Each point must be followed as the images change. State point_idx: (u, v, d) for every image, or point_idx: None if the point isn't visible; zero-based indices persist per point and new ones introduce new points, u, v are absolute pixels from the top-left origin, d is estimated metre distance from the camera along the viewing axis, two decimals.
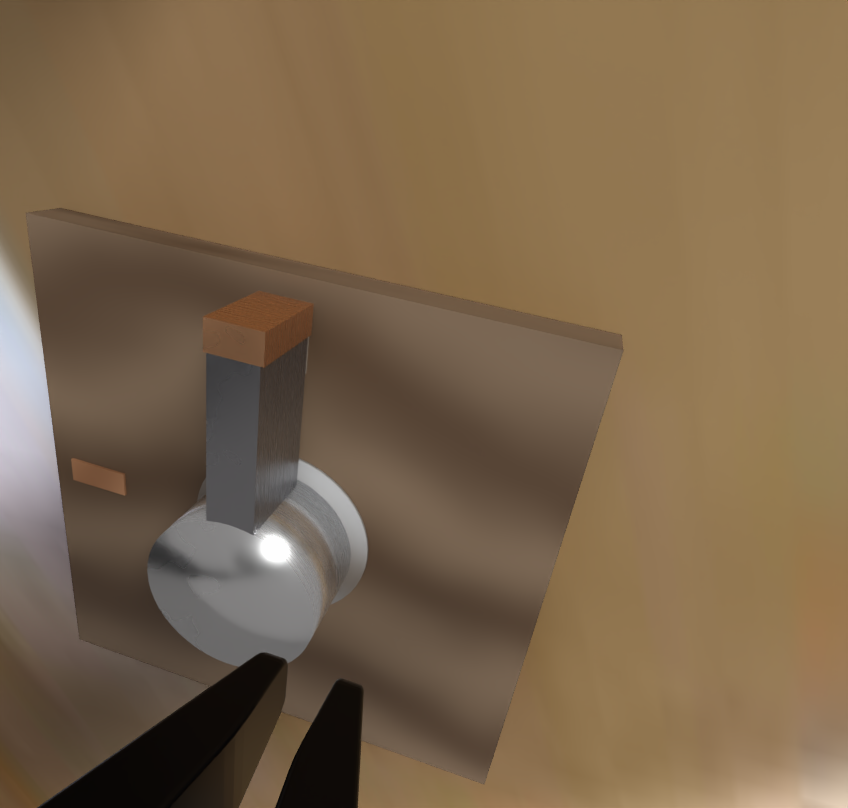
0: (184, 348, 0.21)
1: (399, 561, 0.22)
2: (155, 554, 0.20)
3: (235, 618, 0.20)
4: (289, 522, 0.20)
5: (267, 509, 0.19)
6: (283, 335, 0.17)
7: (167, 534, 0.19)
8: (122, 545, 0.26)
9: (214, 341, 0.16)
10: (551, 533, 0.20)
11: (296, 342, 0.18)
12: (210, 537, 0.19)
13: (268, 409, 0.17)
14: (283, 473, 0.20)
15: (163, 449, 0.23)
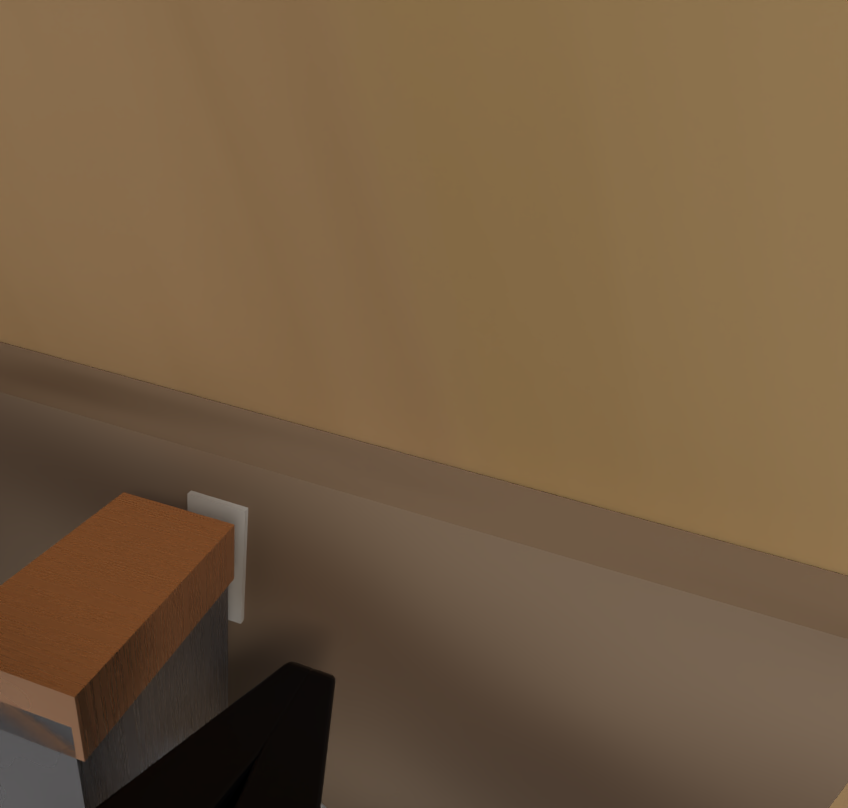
0: (22, 555, 0.11)
1: None
2: None
3: None
4: None
5: None
6: (147, 646, 0.07)
7: None
8: None
9: None
10: None
11: (193, 621, 0.08)
12: None
13: None
14: None
15: None
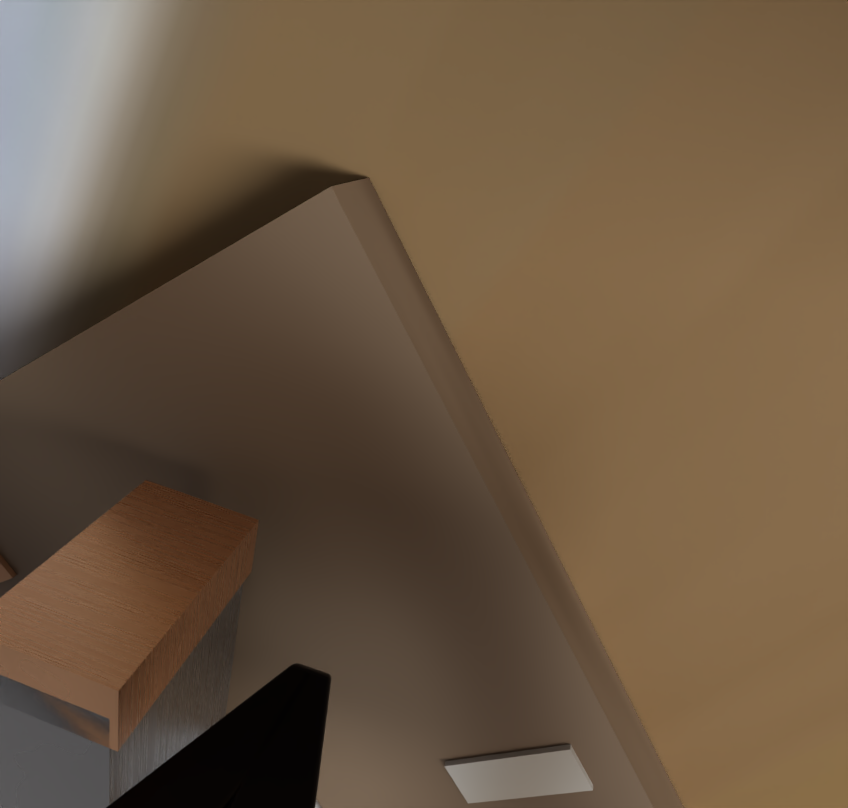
0: (338, 616, 0.10)
1: None
2: None
3: None
4: None
5: None
6: (178, 639, 0.07)
7: None
8: None
9: None
10: None
11: (215, 613, 0.08)
12: None
13: (139, 780, 0.08)
14: None
15: None
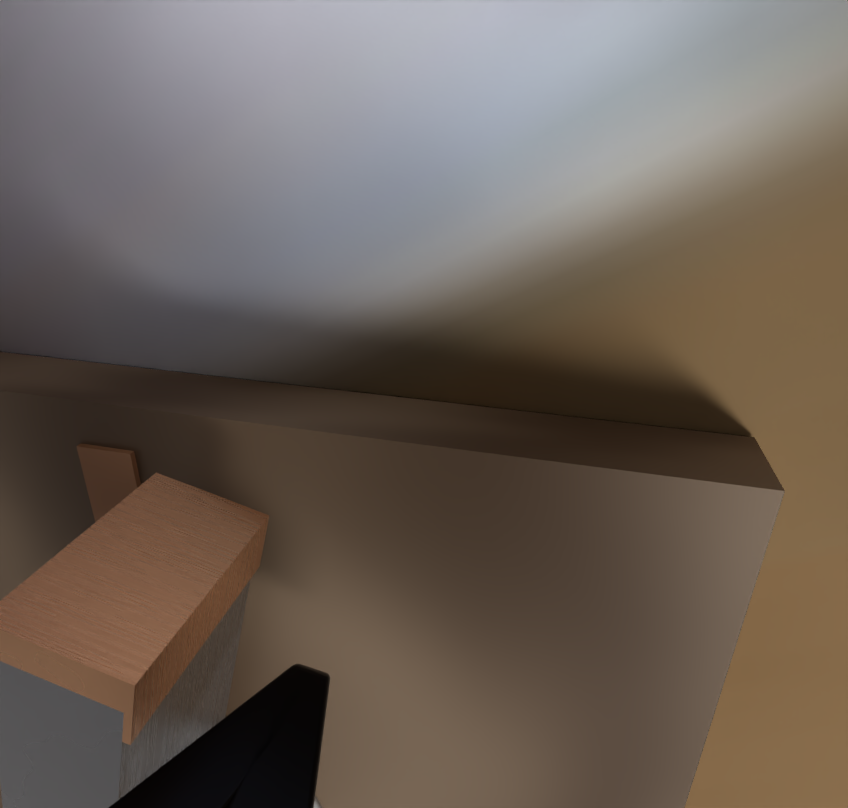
0: (483, 746, 0.11)
1: None
2: None
3: None
4: None
5: None
6: (190, 634, 0.07)
7: None
8: None
9: (9, 671, 0.07)
10: None
11: (224, 607, 0.08)
12: None
13: (147, 773, 0.08)
14: None
15: (253, 659, 0.11)
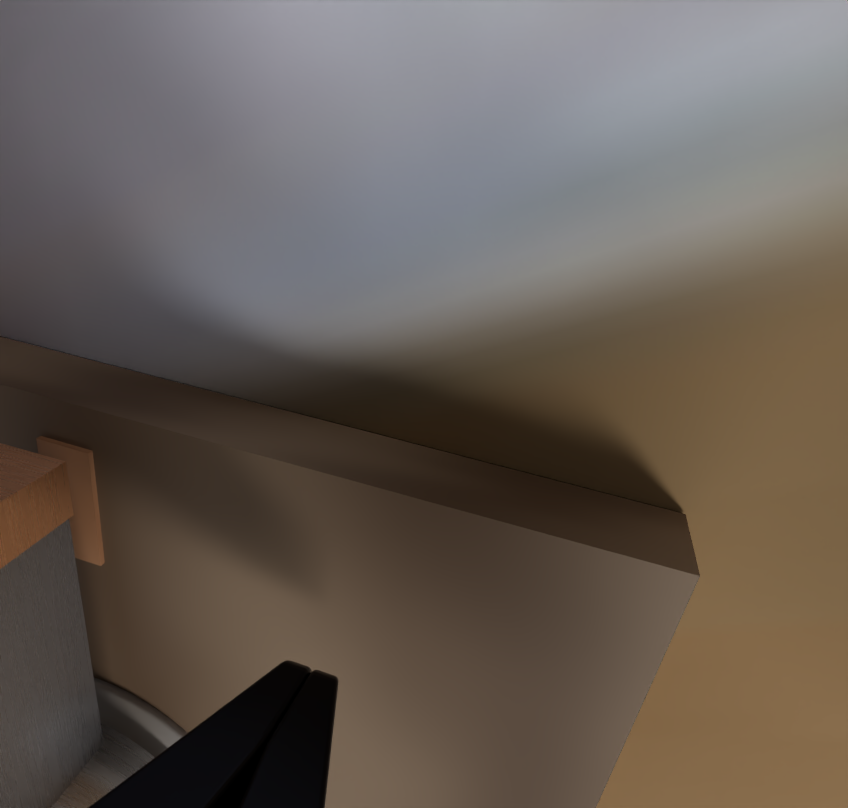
0: (398, 766, 0.11)
1: None
2: None
3: None
4: None
5: None
6: None
7: None
8: None
9: None
10: None
11: (20, 548, 0.09)
12: None
13: None
14: (50, 757, 0.11)
15: (188, 658, 0.12)
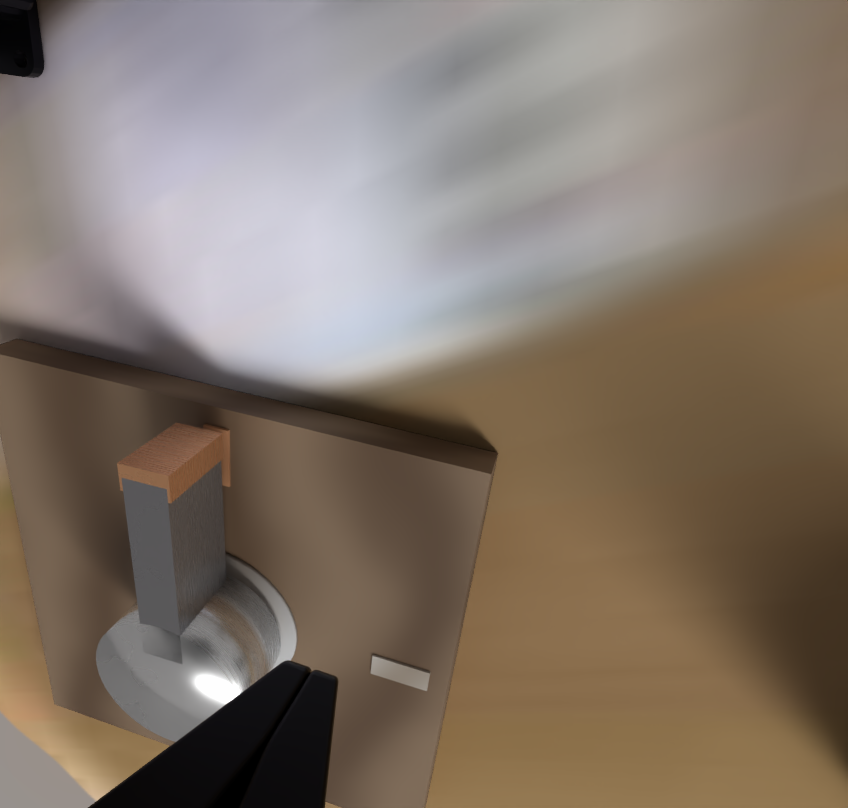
0: (374, 584, 0.23)
1: None
2: (101, 650, 0.23)
3: (174, 703, 0.23)
4: (215, 618, 0.22)
5: (193, 610, 0.22)
6: (190, 470, 0.20)
7: (109, 634, 0.22)
8: None
9: (128, 482, 0.19)
10: None
11: (207, 469, 0.21)
12: (145, 637, 0.22)
13: (182, 531, 0.20)
14: (208, 575, 0.22)
15: (270, 534, 0.23)
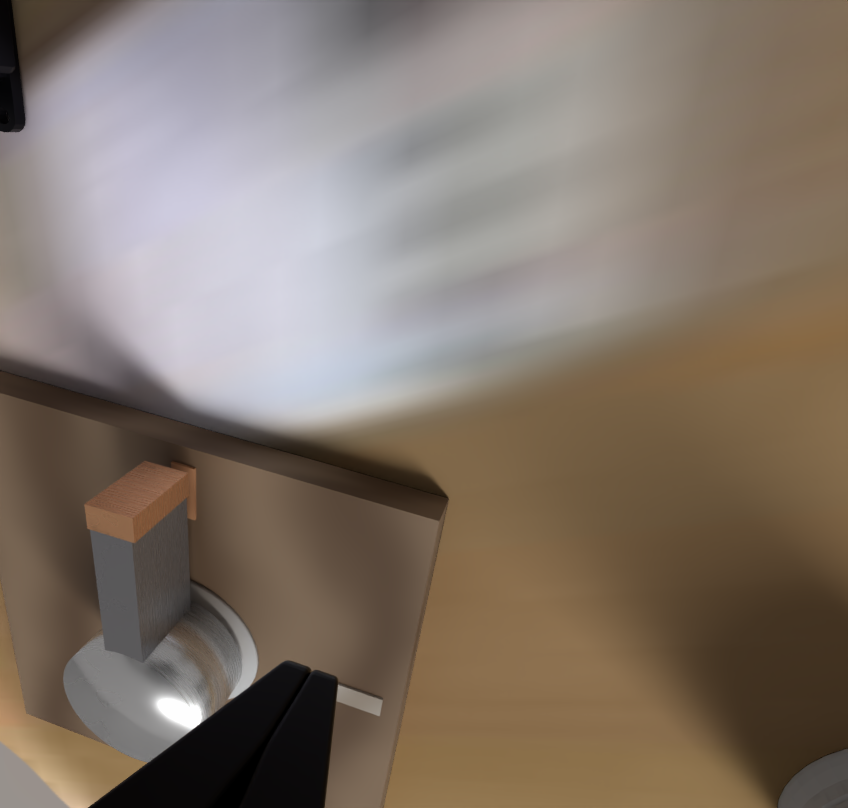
0: (331, 616, 0.24)
1: None
2: (68, 672, 0.24)
3: (136, 724, 0.24)
4: (178, 645, 0.24)
5: (156, 638, 0.23)
6: (154, 510, 0.21)
7: (76, 658, 0.23)
8: None
9: (95, 522, 0.20)
10: None
11: (171, 508, 0.22)
12: (109, 662, 0.23)
13: (146, 567, 0.21)
14: (172, 605, 0.24)
15: (233, 565, 0.25)
